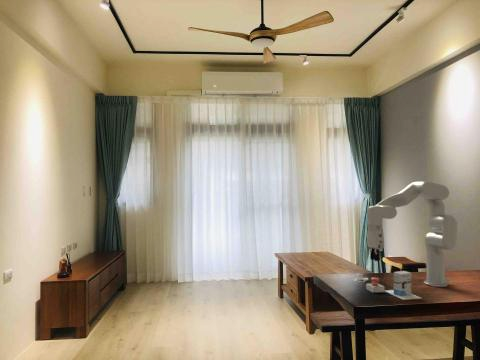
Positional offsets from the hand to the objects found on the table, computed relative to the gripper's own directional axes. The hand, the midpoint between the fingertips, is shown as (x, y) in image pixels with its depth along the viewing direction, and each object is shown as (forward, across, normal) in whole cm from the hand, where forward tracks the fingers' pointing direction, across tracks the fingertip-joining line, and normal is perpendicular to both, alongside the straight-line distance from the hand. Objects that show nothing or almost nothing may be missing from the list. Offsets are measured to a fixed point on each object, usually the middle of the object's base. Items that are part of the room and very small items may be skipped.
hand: (375, 259), depth 200 cm
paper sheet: (+17, -10, -10) cm, 22 cm away
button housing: (+17, 0, 0) cm, 17 cm away
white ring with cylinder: (+18, +19, -4) cm, 27 cm away
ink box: (+17, -10, -10) cm, 22 cm away
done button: (+15, 0, 0) cm, 15 cm away
